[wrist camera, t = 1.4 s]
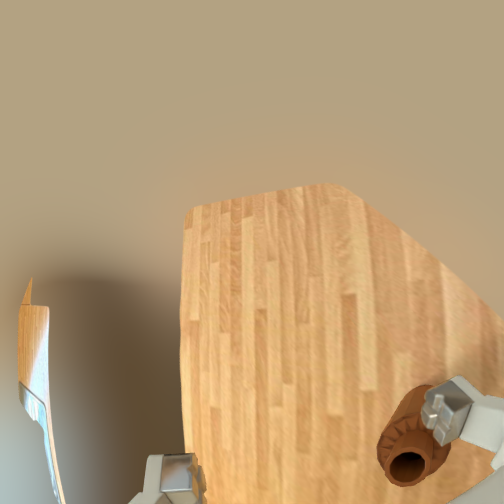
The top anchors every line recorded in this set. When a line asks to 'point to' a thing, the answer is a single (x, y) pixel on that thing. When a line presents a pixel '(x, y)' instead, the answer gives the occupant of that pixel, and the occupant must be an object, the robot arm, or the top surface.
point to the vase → (410, 443)
